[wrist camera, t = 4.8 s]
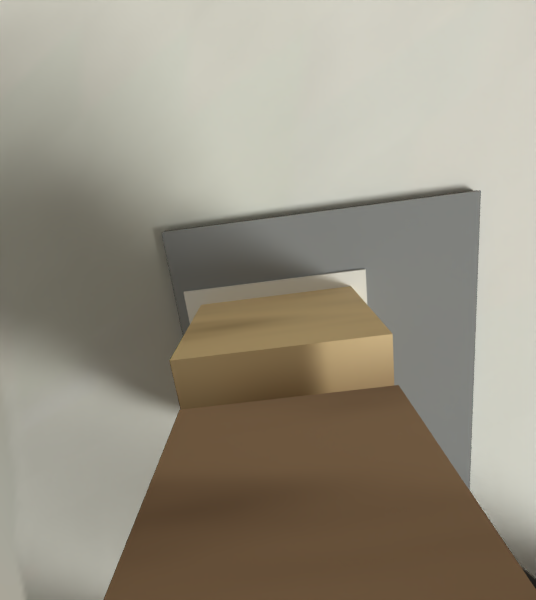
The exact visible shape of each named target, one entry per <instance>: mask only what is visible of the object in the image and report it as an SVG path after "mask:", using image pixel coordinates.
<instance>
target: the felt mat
mask: <svg viewBox="0 0 536 600" xmlns="http://www.w3.org/2000/svg"><path fill="white" fill-rule="evenodd" d="M480 199H481V191H468V192H461V193H453V194H445V195H438V196H430V197H422V198H415V199H407V200H400V201H392V202H384V203H377V204H369V205H362V206H354V207H346V208H339V209H331V210H324V211H316V212H308V213H301V214H293V215H285V216H278V217H270V218H263V219H255V220H247V221H240V222H232V223H225V224H217V225H209V226H202V227H194V228H186V229H179V230H171V231H164V232H162V237H163V242H164V247H165V251H166V256H167V261H168V266H169V271H170V275H171V280H172V285H173V290H174V294H175V299H176V304H177V309H178V313H179V318H180V323H181V328H182V332H183V336H184V334H185V332H186V331H187V329H188V327H189V325H190V324H191V322H192V320H193V318H194V317H195V315H196V313H197V311H198V309H199V308H200V306H201V305H203V304H212V303H220V302H228V301H236V300H244V299H252V298H260V297H268V296H276V295H284V294H292V293H300V292H308V291H316V290H324V289H332V288H340V287H348V286H351V287H352V288H353V289H354V290H355V291H356V292H357V294H358V295H359V296H360V297H361V298H362V299H363V300H364V302H365V303H366V304H367V305H368V306H369V307H370V309H371V310H372V311H373V312H374V313H375V314H376V315H377V317H378V318H379V319H380V320H381V321H382V322H383V323H384V325H385V326H386V327H387V328H388V329H389V330H390V332H391V333H392V334H393V359H394V385H399V386H400V388H401V389H402V391H403V392H404V394H405V395H406V397H407V398H408V400H409V401H410V403H411V404H412V406H413V407H414V409H415V410H416V412H417V413H418V414H419V416H420V417H421V419H422V420H423V422H424V423H425V425H426V426H427V428H428V429H429V431H430V432H431V434H432V435H433V437H434V438H435V440H436V441H437V443H438V444H439V446H440V447H441V449H442V450H443V452H444V453H445V455H446V456H447V458H448V459H449V461H450V462H451V464H452V465H453V467H454V468H455V470H456V471H457V473H458V474H459V476H460V477H461V479H462V480H463V482H464V483H465V485H466V486H467V487H468V489H469V490H470V465H471V438H472V412H473V385H474V358H475V332H476V305H477V279H478V252H479V225H480Z"/></svg>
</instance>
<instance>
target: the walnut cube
mask: <svg viewBox="0 0 536 600" xmlns="http://www.w3.org/2000/svg"><path fill="white" fill-rule="evenodd" d="M104 600H536V589H535V587H534V586H533V584H532V583H531V581H530V580H529V578H528V577H527V575H526V574H525V572H524V571H523V569H522V568H521V566H520V565H519V563H518V562H517V560H516V559H515V557H514V556H513V555H512V553H511V552H510V550H509V549H508V547H507V546H506V544H505V543H504V541H503V540H502V538H501V537H500V535H499V534H498V532H497V531H496V529H495V528H494V526H493V525H492V523H491V522H490V520H489V519H488V517H487V516H486V514H485V513H484V511H483V510H482V508H481V507H480V505H479V504H478V502H477V501H476V499H475V498H474V496H473V495H472V493H471V492H470V490H469V489H468V487H467V486H466V485H465V483H464V482H463V480H462V479H461V477H460V476H459V474H458V473H457V471H456V470H455V468H454V467H453V465H452V464H451V462H450V461H449V459H448V458H447V456H446V455H445V453H444V452H443V450H442V449H441V447H440V446H439V444H438V443H437V441H436V440H435V438H434V437H433V435H432V434H431V432H430V431H429V429H428V428H427V426H426V425H425V423H424V422H423V420H422V419H421V417H420V416H419V414H418V413H417V412H416V410H415V409H414V407H413V406H412V404H411V403H410V401H409V400H408V398H407V397H406V395H405V394H404V392H403V391H402V389H401V388H400V386H399V385H394V386H385V387H376V388H367V389H358V390H350V391H341V392H332V393H323V394H315V395H306V396H297V397H288V398H279V399H271V400H262V401H253V402H244V403H235V404H227V405H218V406H209V407H200V408H191V409H183V410H179V413H178V415H177V418H176V420H175V423H174V425H173V428H172V430H171V433H170V435H169V438H168V440H167V443H166V445H165V448H164V450H163V453H162V455H161V458H160V460H159V463H158V465H157V468H156V470H155V473H154V475H153V478H152V480H151V483H150V485H149V488H148V490H147V493H146V495H145V498H144V500H143V503H142V505H141V508H140V510H139V513H138V515H137V518H136V520H135V523H134V525H133V527H132V530H131V532H130V535H129V537H128V540H127V542H126V545H125V547H124V550H123V552H122V555H121V557H120V560H119V562H118V565H117V567H116V570H115V572H114V575H113V577H112V580H111V582H110V585H109V587H108V590H107V592H106V595H105V597H104Z"/></svg>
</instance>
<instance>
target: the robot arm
mask: <svg viewBox="0 0 536 600" xmlns="http://www.w3.org/2000/svg"><path fill="white" fill-rule="evenodd" d="M521 568H522V569H523V571H524V572H525V574H526V575H527V577H528V578H529V580H530V581H531V583H532V584H533V586H534V587H535V589H536V578H535V577H534V576H532V575H531V574H530V573H529V572H528V571H526V570H525V569H524V568H523V567H522V566H521Z"/></svg>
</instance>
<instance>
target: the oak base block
mask: <svg viewBox="0 0 536 600" xmlns="http://www.w3.org/2000/svg"><path fill="white" fill-rule="evenodd" d="M170 365H171V369H172V374H173V378H174V383H175V387H176V392H177V396H178V400H179V405H180V409H181V410H183V409H191V408H200V407H209V406H218V405H227V404H235V403H244V402H253V401H262V400H271V399H279V398H288V397H297V396H306V395H315V394H323V393H332V392H341V391H350V390H358V389H367V388H376V387H385V386H394V359H393V334H392V333H391V332H390V330H389V329H388V328H387V327H386V326H385V325H384V323H383V322H382V321H381V320H380V319H379V318H378V317H377V315H376V314H375V313H374V312H373V311H372V310H371V309H370V307H369V306H368V305H367V304H366V303H365V302H364V300H363V299H362V298H361V297H360V296H359V295H358V294H357V292H356V291H355V290H354V289H353V288H352V287H351V286H348V287H340V288H332V289H324V290H316V291H308V292H300V293H292V294H284V295H276V296H268V297H260V298H252V299H244V300H236V301H228V302H220V303H212V304H203V305H201V306H200V308H199V309H198V311H197V313H196V315H195V317H194V318H193V320H192V322H191V324H190V325H189V327H188V329H187V331H186V332H185V334H184V336H183V338H182V339H181V341H180V343H179V345H178V347H177V348H176V350H175V352H174V354H173V355H172V357H171V359H170Z"/></svg>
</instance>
